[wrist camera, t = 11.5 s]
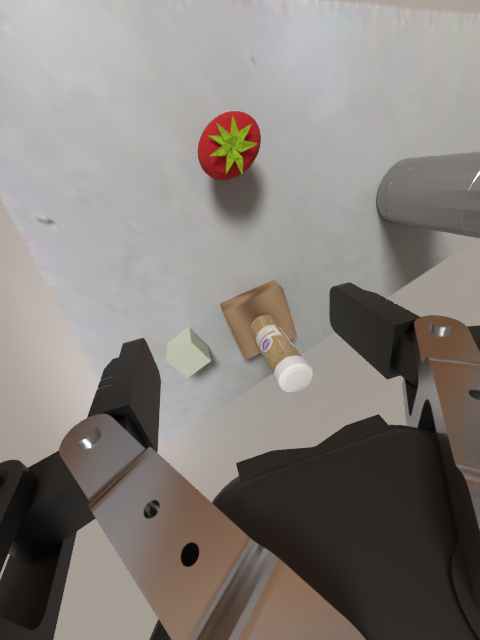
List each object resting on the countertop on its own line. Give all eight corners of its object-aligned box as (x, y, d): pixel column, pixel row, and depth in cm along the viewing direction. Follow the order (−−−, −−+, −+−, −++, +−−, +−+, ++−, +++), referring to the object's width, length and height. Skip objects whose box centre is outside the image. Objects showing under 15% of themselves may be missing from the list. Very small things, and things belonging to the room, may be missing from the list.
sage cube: (189, 326, 44) (191, 342, 40) (207, 344, 47) (211, 360, 42) (166, 343, 45) (166, 360, 40) (185, 360, 47) (187, 378, 43)
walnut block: (273, 279, 44) (282, 288, 40) (288, 325, 49) (297, 336, 45) (219, 303, 43) (224, 314, 40) (239, 347, 49) (245, 360, 45)
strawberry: (256, 155, 35) (284, 147, 26) (211, 191, 35) (225, 194, 27) (231, 107, 32) (254, 80, 23) (183, 147, 32) (188, 135, 24)
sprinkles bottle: (254, 311, 41) (287, 362, 29) (279, 316, 43) (320, 366, 31) (245, 336, 43) (273, 393, 31) (270, 340, 44) (305, 395, 33)
